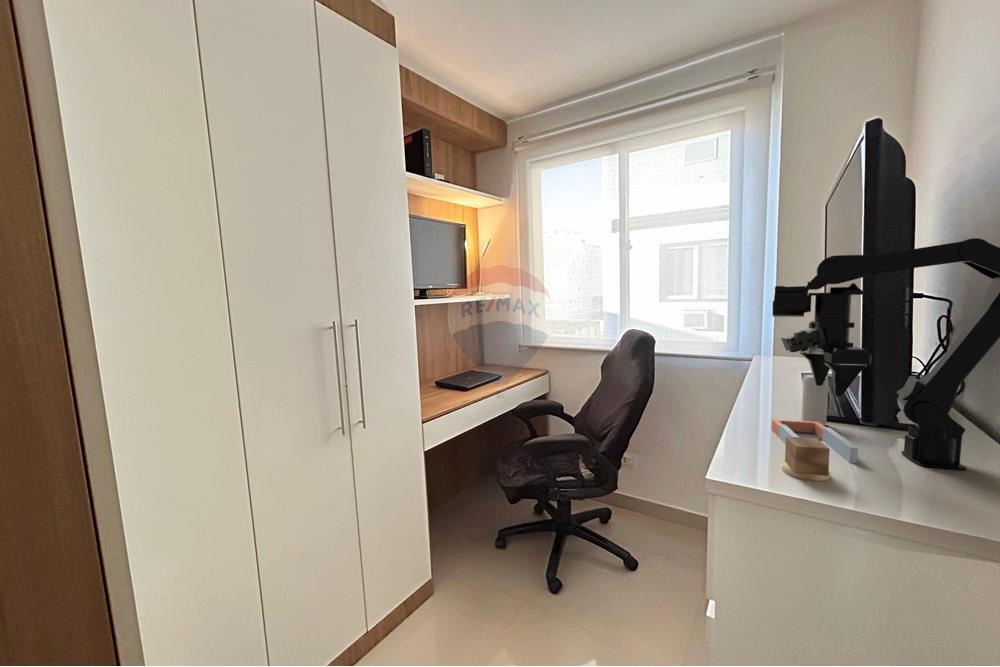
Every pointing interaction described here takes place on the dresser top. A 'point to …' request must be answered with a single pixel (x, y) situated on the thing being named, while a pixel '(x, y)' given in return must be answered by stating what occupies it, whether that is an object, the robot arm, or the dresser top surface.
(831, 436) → the channel
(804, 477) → the cork coaster
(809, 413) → the beverage can
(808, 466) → the walnut block
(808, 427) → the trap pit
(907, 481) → the dresser top surface
